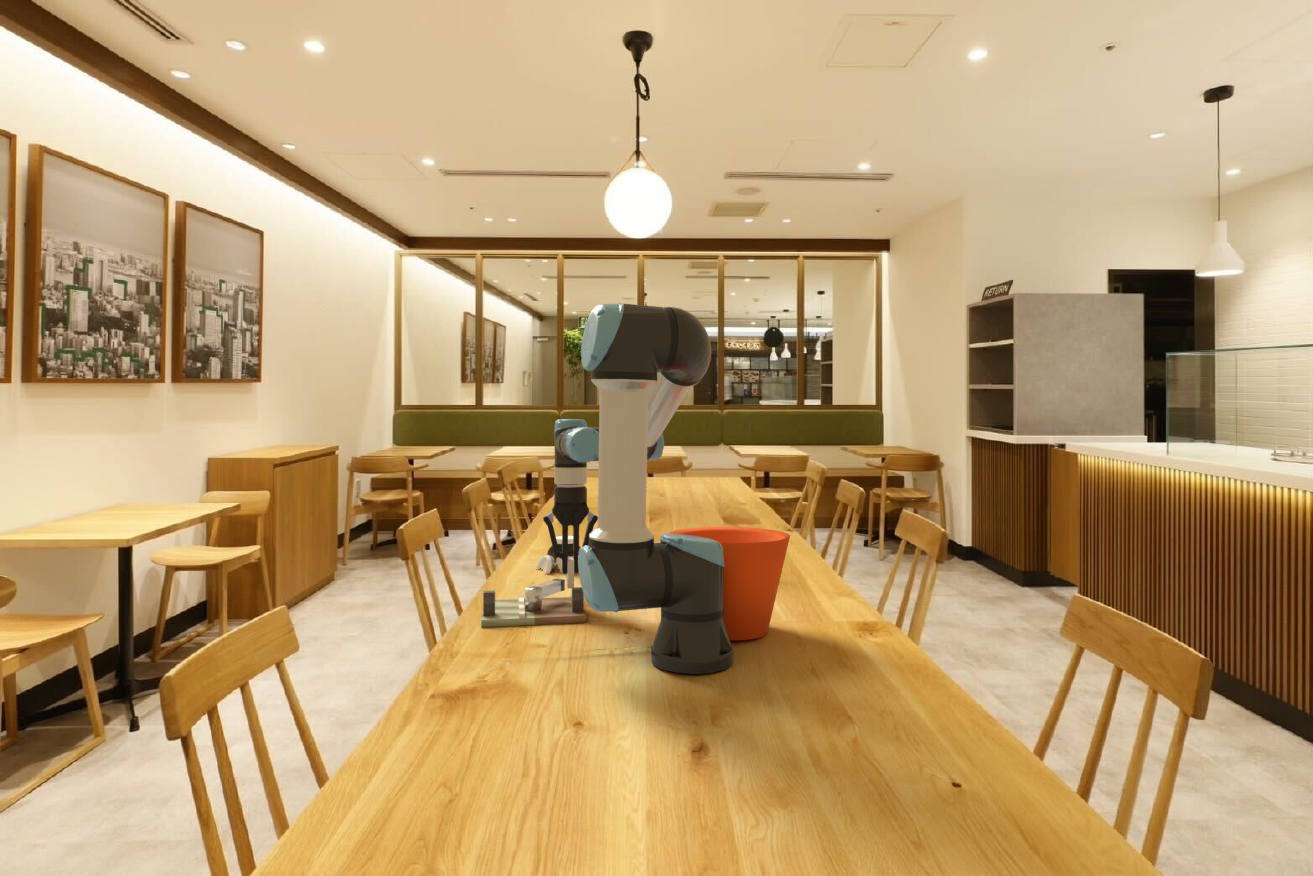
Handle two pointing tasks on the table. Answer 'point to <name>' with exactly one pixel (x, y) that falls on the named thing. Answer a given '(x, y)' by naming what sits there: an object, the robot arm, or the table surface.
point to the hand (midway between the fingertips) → (570, 587)
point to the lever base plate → (516, 614)
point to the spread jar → (554, 562)
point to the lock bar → (542, 593)
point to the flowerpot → (748, 575)
